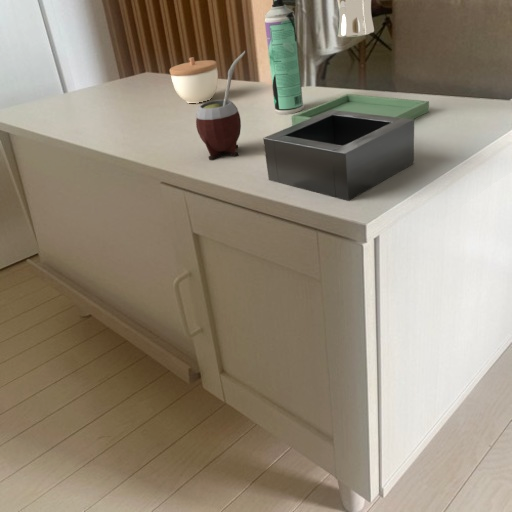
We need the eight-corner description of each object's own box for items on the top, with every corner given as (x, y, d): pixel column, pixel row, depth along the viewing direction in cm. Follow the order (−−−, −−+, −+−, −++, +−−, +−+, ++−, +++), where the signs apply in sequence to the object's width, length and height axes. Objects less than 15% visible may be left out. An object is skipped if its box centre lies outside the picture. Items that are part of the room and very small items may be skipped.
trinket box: (179, 109, 119) (170, 65, 114) (174, 99, 128) (165, 58, 124) (226, 100, 120) (219, 56, 116) (218, 91, 130) (211, 50, 125)
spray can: (305, 105, 107) (295, -6, 98) (300, 113, 103) (290, -3, 93) (278, 107, 109) (265, -2, 99) (272, 115, 104) (259, 2, 94)
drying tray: (428, 111, 92) (429, 101, 91) (373, 138, 84) (373, 127, 83) (347, 103, 104) (347, 93, 103) (292, 126, 96) (291, 116, 95)
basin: (414, 163, 73) (414, 119, 70) (348, 200, 65) (345, 153, 62) (333, 148, 82) (331, 109, 79) (268, 179, 75) (262, 137, 72)
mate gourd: (193, 158, 88) (174, 62, 80) (227, 142, 92) (212, 51, 85) (226, 163, 83) (208, 62, 76) (259, 147, 88) (246, 50, 80)
